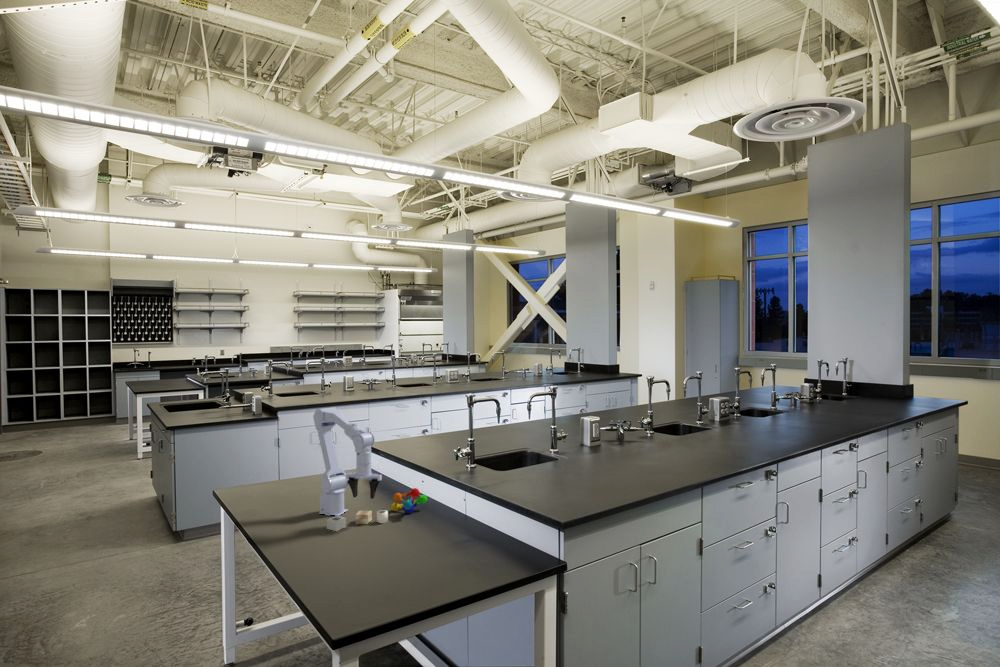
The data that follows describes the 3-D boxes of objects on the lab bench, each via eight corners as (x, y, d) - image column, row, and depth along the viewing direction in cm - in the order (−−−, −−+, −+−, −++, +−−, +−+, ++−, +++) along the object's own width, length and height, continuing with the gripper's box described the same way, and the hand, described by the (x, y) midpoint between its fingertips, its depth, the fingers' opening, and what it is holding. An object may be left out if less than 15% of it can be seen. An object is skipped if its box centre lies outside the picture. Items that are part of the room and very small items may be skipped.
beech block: (355, 524, 217) (355, 514, 217) (359, 520, 222) (359, 510, 222) (368, 525, 217) (368, 514, 217) (371, 520, 222) (371, 510, 222)
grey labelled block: (326, 530, 212) (326, 519, 212) (336, 526, 216) (336, 515, 216) (336, 532, 209) (336, 521, 209) (345, 528, 214) (345, 517, 214)
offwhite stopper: (374, 523, 219) (374, 512, 219) (379, 519, 223) (379, 509, 223) (385, 524, 218) (385, 513, 218) (389, 520, 222) (389, 510, 222)
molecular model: (387, 522, 230) (409, 512, 221) (380, 499, 232) (402, 489, 224) (413, 513, 242) (436, 503, 233) (407, 491, 244) (428, 481, 236)
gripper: (342, 464, 218) (342, 499, 218) (376, 466, 214) (376, 501, 214) (350, 460, 224) (350, 494, 224) (384, 462, 221) (384, 496, 221)
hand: (363, 497), depth 220 cm, fingers open, 7 cm apart
